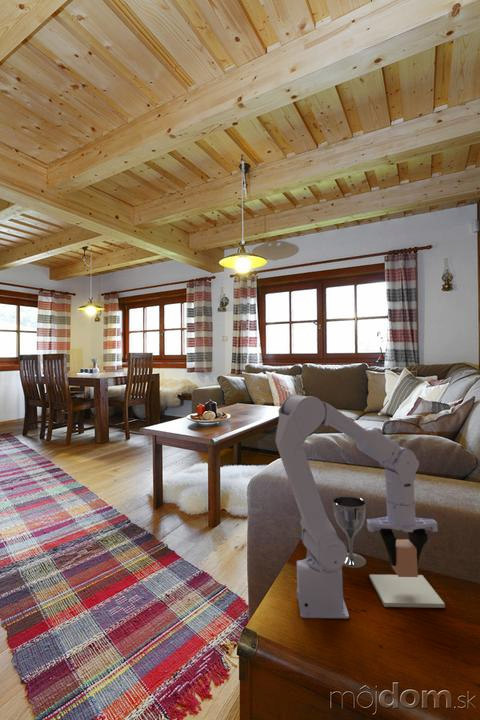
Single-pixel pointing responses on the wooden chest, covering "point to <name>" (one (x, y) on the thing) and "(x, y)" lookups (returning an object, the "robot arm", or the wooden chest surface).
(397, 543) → the block
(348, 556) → the wine glass
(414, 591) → the mat
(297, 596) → the robot arm
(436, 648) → the wooden chest surface
